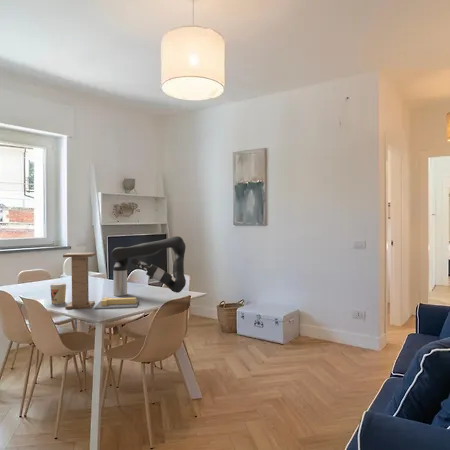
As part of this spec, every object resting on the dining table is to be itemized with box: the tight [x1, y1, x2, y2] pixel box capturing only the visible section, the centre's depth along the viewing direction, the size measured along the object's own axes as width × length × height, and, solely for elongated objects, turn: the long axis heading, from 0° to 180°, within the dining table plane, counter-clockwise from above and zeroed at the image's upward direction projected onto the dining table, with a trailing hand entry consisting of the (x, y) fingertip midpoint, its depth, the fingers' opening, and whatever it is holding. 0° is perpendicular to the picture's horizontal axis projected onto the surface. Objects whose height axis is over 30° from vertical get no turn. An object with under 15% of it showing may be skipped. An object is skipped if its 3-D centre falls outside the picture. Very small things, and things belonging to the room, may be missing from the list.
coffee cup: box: [49, 282, 67, 305], centre depth 247 cm, size 9×9×12 cm
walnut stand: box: [62, 251, 97, 310], centre depth 237 cm, size 14×16×32 cm
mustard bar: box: [100, 297, 137, 306], centre depth 241 cm, size 10×20×3 cm, turn 98°
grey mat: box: [94, 299, 140, 310], centre depth 240 cm, size 20×24×1 cm
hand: (132, 260), depth 241 cm, fingers open, 8 cm apart
